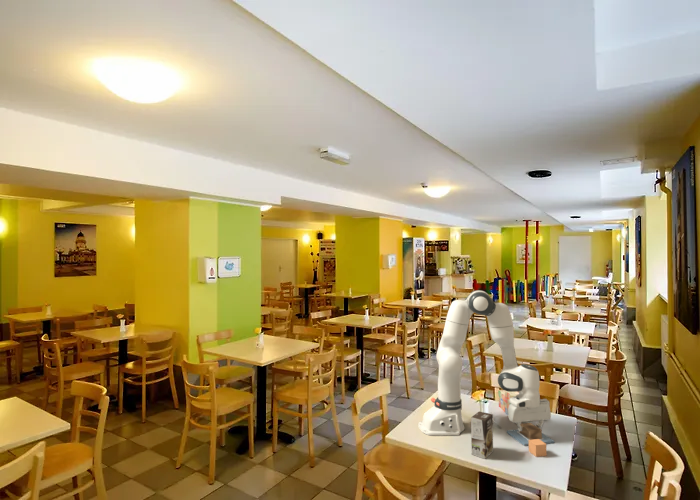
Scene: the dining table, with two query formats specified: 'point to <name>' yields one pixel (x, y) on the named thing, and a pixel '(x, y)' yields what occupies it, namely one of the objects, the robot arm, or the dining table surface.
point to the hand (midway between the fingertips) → (529, 429)
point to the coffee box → (482, 434)
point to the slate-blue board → (525, 440)
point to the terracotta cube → (537, 447)
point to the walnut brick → (531, 431)
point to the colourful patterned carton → (505, 399)
